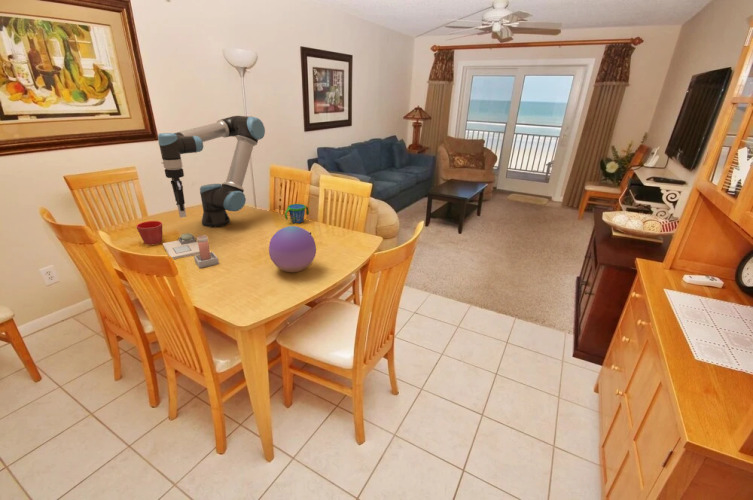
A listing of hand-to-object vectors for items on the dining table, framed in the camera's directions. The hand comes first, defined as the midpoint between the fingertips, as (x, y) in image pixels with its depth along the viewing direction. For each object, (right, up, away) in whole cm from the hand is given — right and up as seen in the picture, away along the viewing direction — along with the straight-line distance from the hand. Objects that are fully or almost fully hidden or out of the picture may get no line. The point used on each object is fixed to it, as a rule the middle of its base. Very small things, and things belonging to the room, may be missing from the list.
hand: (183, 216), depth 167 cm
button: (-1, -11, +5) cm, 12 cm away
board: (+1, -16, -1) cm, 16 cm away
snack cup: (+47, +1, +43) cm, 63 cm away
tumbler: (+18, -22, -14) cm, 32 cm away
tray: (+18, -22, -13) cm, 32 cm away
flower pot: (-18, -13, +5) cm, 23 cm away
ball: (+59, -25, -16) cm, 66 cm away
